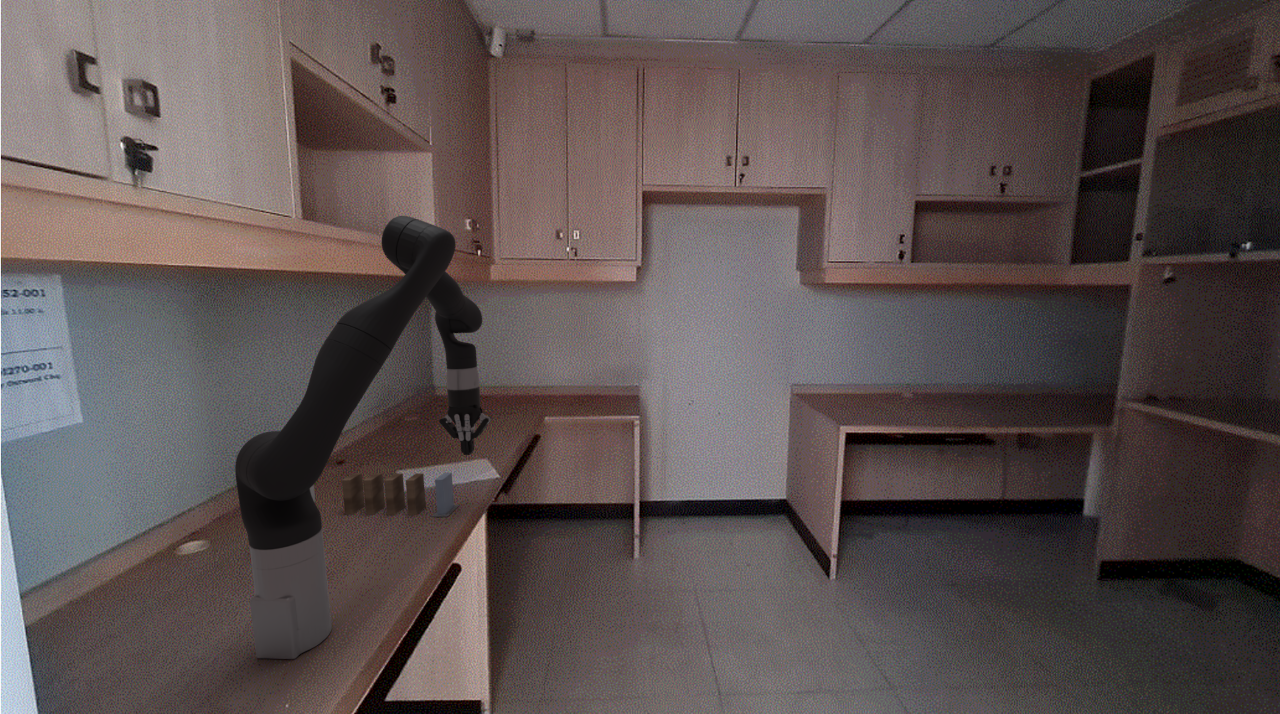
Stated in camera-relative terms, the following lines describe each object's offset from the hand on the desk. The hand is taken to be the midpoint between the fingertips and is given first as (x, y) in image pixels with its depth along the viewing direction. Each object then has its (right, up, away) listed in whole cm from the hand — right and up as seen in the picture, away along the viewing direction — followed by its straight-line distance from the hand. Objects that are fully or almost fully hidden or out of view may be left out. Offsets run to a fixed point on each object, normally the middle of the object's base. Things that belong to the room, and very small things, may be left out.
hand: (467, 454), depth 124 cm
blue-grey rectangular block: (-6, -15, +2) cm, 16 cm away
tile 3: (-19, -15, +3) cm, 25 cm away
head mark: (-6, -15, +2) cm, 16 cm away
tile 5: (-30, -15, +4) cm, 34 cm away
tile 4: (-25, -15, +3) cm, 29 cm away
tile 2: (-14, -15, +3) cm, 21 cm away
